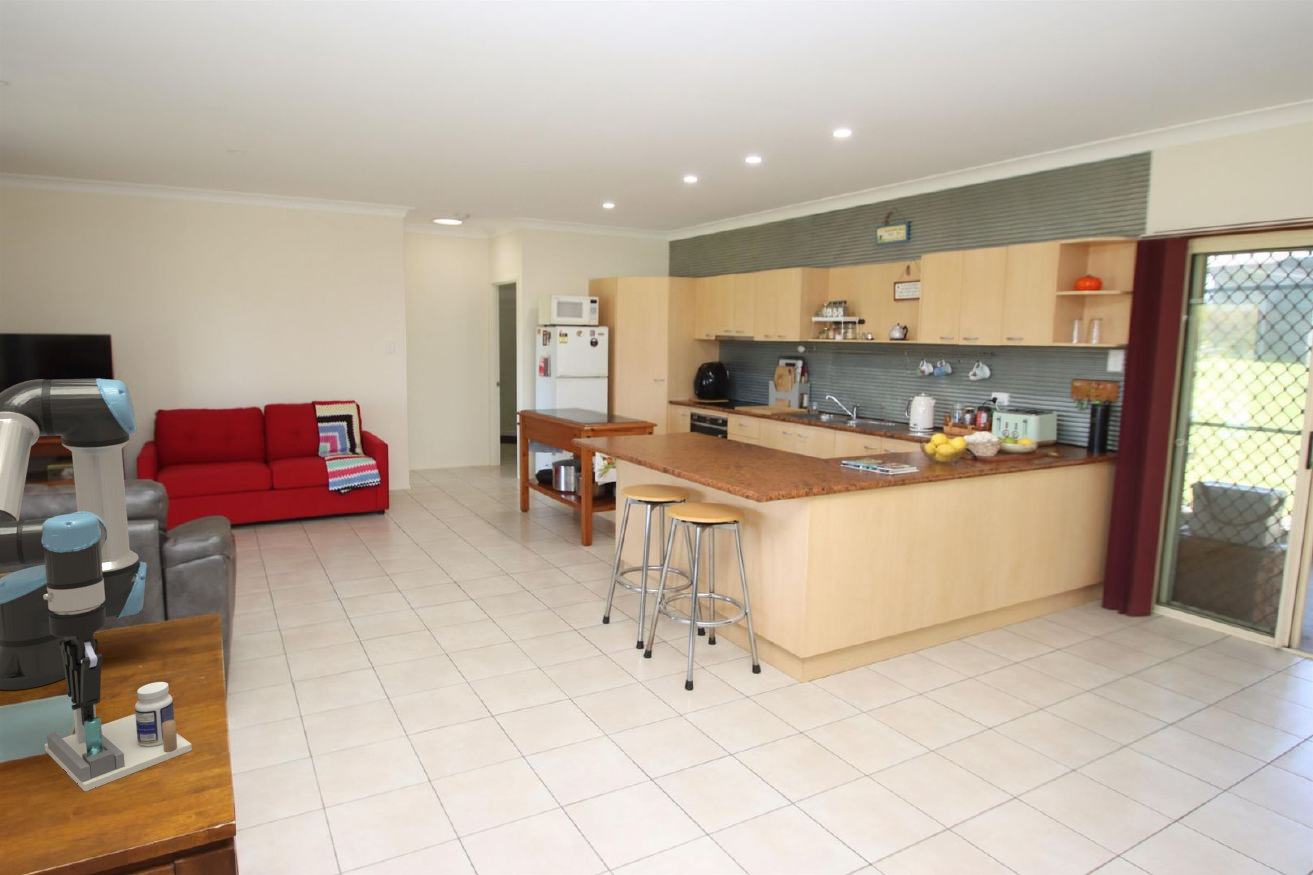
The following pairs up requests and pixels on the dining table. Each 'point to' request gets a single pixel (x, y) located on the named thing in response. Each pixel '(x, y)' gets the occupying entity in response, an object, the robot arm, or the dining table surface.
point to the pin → (93, 737)
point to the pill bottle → (152, 712)
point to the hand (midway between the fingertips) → (86, 739)
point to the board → (114, 752)
